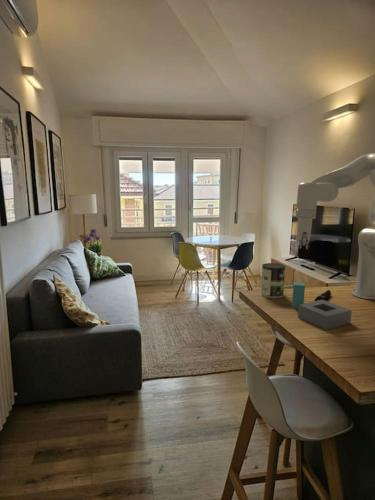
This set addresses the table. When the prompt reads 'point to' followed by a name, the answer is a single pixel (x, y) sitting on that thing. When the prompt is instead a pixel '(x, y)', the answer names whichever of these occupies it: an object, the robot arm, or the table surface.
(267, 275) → the coffee can
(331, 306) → the socket
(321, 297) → the electric trimmer
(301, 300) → the peg
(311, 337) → the table surface
